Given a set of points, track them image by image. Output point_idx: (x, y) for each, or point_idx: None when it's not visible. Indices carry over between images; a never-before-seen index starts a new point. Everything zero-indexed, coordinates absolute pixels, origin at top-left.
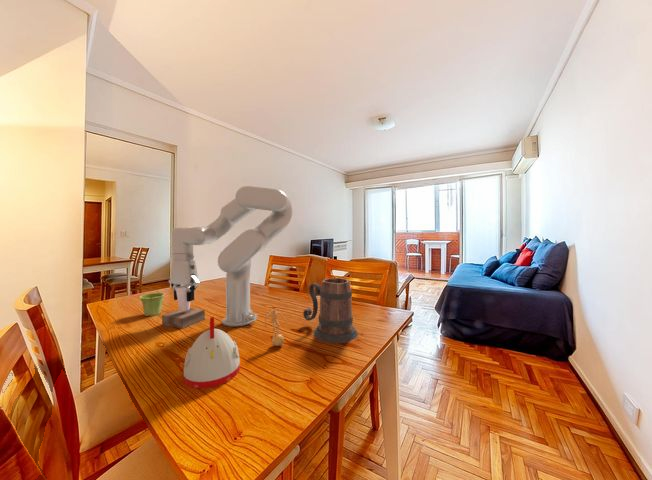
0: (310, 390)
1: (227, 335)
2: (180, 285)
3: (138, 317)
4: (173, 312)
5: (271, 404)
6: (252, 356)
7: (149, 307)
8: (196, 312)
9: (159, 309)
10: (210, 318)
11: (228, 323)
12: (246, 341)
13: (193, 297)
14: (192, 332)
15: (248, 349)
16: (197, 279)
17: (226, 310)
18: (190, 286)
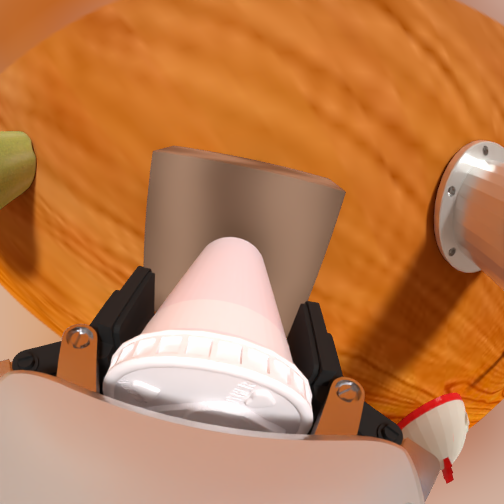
0: (501, 394)
1: (462, 446)
2: (98, 382)
3: (11, 211)
4: (161, 261)
5: (470, 417)
6: (480, 375)
7: (2, 207)
8: (315, 246)
9: (22, 160)
10: (448, 481)
11: (463, 268)
12: (485, 338)
13: (329, 340)
14: (347, 329)
15: (480, 361)
16: (420, 486)
17: (484, 264)
18: (286, 413)
